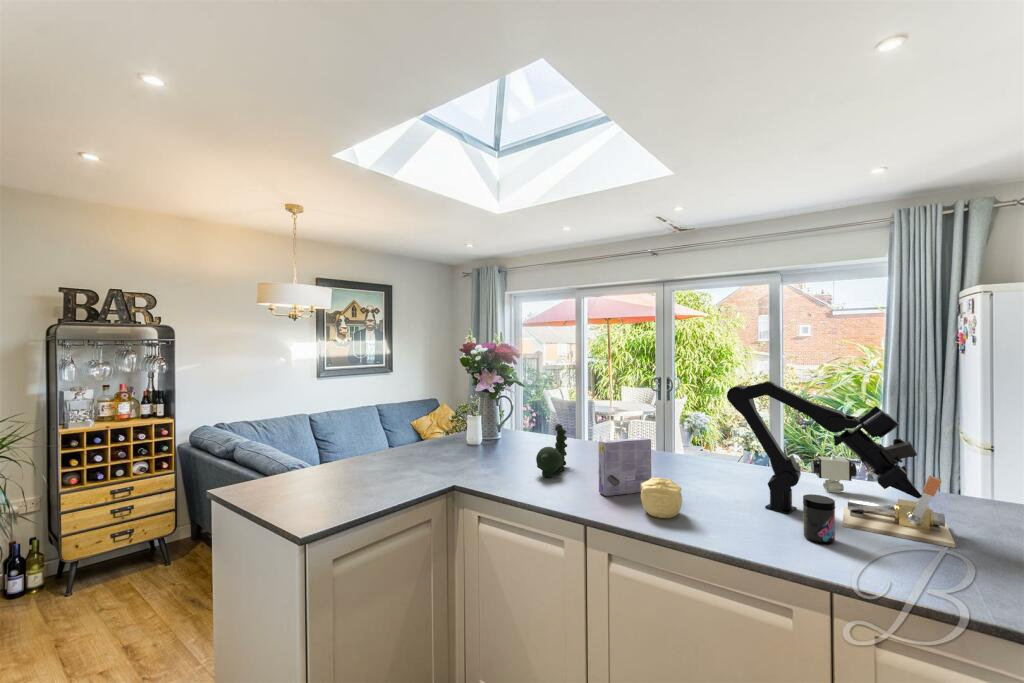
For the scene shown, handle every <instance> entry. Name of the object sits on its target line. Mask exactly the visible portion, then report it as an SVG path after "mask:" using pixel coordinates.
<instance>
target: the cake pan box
mask: <svg viewBox="0 0 1024 683" xmlns="http://www.w3.org/2000/svg"><path fill="white" fill-rule="evenodd" d="M651 478H652V439H651V438H648V437H638V438H637V437H636V438H620V439H608V440H607V439H606V440H598V493H600V494H601V495H602V496H604V497H612V496H619V495H632V494H635V493H641V491H642V487H641V484H642V483H643V482H646V481H648V480H650V479H651Z"/></svg>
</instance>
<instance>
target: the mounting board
mask: <svg viewBox="0 0 1024 683" xmlns="http://www.w3.org/2000/svg"><path fill="white" fill-rule="evenodd" d="M842 527H844V528H850V529H856V530H858V531H859V530H860V531H865V532H866V531H867V532H872V533H874V534H875V533H877V534H882V535H886V536H892V537H896V538H900V539H901V538H902V539H907V540H910V541H911V540H912V541H917V542H922V543H928V544H931V545H932V544H933V545H937V546H944V547H948V548H953V549H955V548H956V543H955V540H954V538H953V535H952V533H951V531H950V529H949V526H948V525H947V523H945V527H943V526H939V527H940V532H936V531H928V530H922V529H917V528H911V527H906V526H900V525H899V522H898V521H895V518H891V517H886V516H880V515H874V514H868V513H864V518H859V517H853V516H850V510H848V506H844V507H843V516H842Z"/></svg>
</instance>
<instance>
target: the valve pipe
mask: <svg viewBox="0 0 1024 683" xmlns="http://www.w3.org/2000/svg"><path fill="white" fill-rule="evenodd" d="M917 502H918V501H914V500H909V499H902V498H897V503H894V504H893V505H891V504H886V503H880V502H873V501H868V500H861V499H854V498H847V507H848V510H850V516H853V517H859V518H864V513H868V514H874V515H880V516H886V517H891V518H895V521H898V522H899V525H900V526H906V527H911V528H917V529H922V530H928V531H936V532H940V527H939V526H943V527H945V524H946V516H945V513H941V512H934V510H933V509H932V508H931V509H930V507H929V506H928V507H927V509H926V511H925V513H924V515H923V517H922V524H921V525H920V526H912V525H911V524H910V523H909V522H908V519H907V516H908V515H909V514H912V512H913V510H914V508H915V506H916V504H917Z"/></svg>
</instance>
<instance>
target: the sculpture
mask: <svg viewBox="0 0 1024 683" xmlns="http://www.w3.org/2000/svg"><path fill="white" fill-rule="evenodd" d="M641 487H642V491H641V492H640V501H641V505H642V507H643V508H644V510H645V512H646V513H648V515H650V516H652V517H655V518H660V519H672V518H675V517H676V516H677V515H678V514H679V513H680V511H681V509H682V505H683V496H682V487H681V485H679V484H677V483H675V482H674V481H673V479H670V478H664V477H653V476H651V479H650V480H648V481H646V482H643V483H642V484H641Z"/></svg>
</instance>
